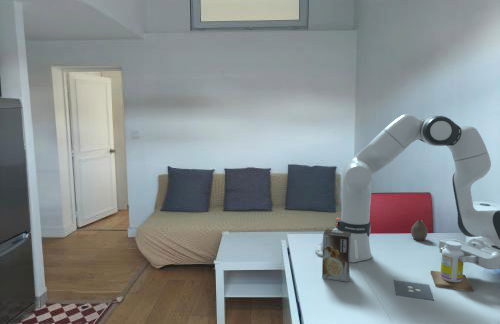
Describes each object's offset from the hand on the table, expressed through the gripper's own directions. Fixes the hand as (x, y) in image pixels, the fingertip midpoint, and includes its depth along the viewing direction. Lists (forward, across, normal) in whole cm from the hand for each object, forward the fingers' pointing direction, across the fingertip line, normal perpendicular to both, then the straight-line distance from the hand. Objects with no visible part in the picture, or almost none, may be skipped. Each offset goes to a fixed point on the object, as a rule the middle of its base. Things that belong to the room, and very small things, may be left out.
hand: (450, 255), depth 125 cm
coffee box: (+35, -16, +10) cm, 40 cm away
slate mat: (+16, +1, +10) cm, 19 cm away
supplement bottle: (-1, 0, +9) cm, 9 cm away
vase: (-24, -39, +10) cm, 47 cm away
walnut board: (-1, 0, +10) cm, 10 cm away
